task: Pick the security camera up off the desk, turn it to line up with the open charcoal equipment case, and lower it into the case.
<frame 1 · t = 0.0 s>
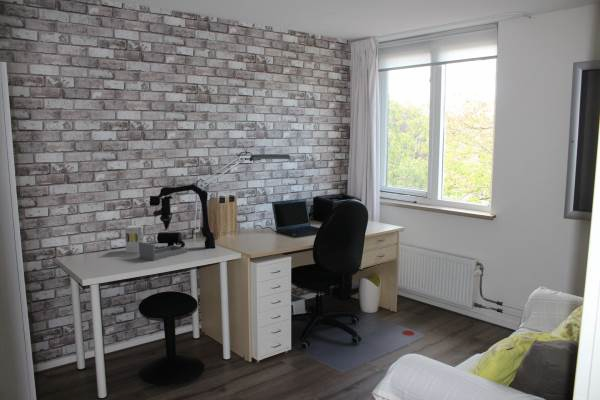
hand: (167, 228, 333), 15 cm above the table, tool pointing down, fingers open, 9 cm apart
case: (164, 254, 320), on the table
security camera: (171, 247, 343), on the table
supplement box: (135, 251, 332), on the table
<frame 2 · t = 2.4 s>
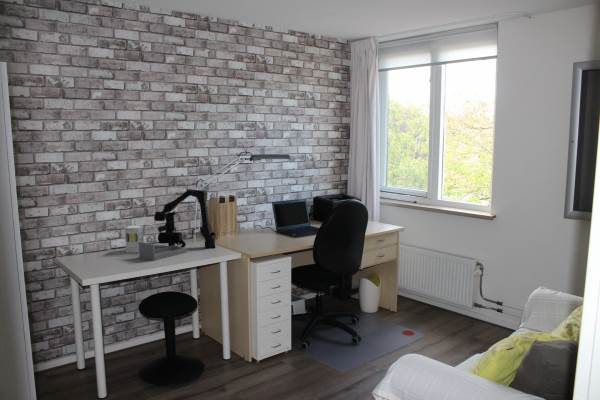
hand: (171, 243, 343), 3 cm above the table, tool pointing down, fingers closed on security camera, 7 cm apart
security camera: (172, 247, 343), on the table, touching gripper
everything else where it was.
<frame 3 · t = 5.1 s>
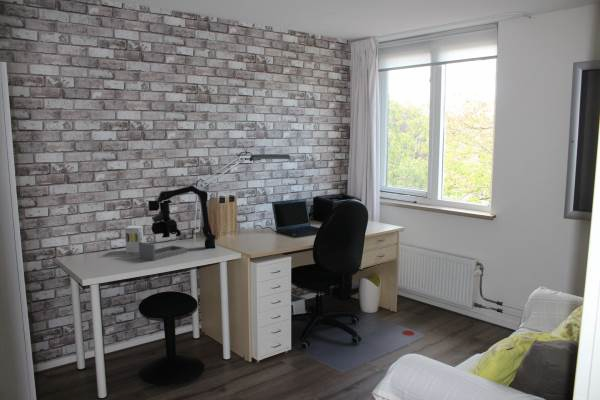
hand: (165, 233, 327), 13 cm above the table, tool pointing down, fingers closed on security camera, 7 cm apart
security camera: (166, 237, 327), point 10 cm above the table, touching gripper
everything else where it was.
when the fingers open (4 cm above the table, at t = 8.3 s): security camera drops 1 cm, resting on case.
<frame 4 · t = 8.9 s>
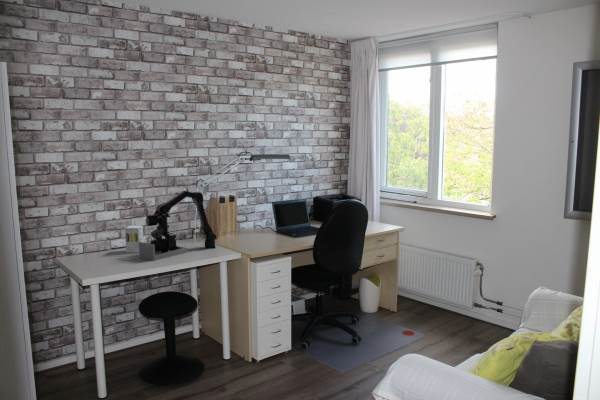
hand: (164, 248, 320), 4 cm above the table, tool pointing down, fingers open, 9 cm apart
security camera: (165, 254, 321), resting on case
everything else where it was.
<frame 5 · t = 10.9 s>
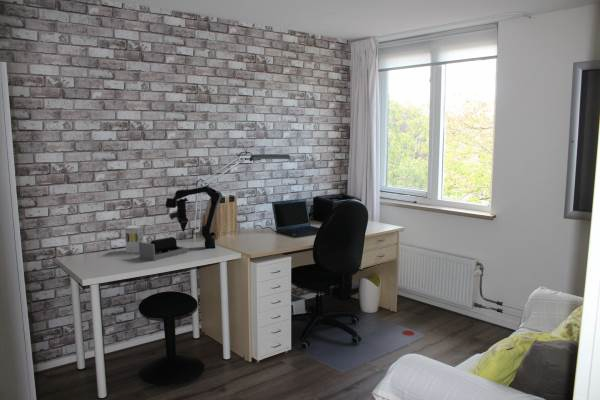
hand: (182, 230, 340), 12 cm above the table, tool pointing down, fingers open, 9 cm apart
nothing on the table moved.
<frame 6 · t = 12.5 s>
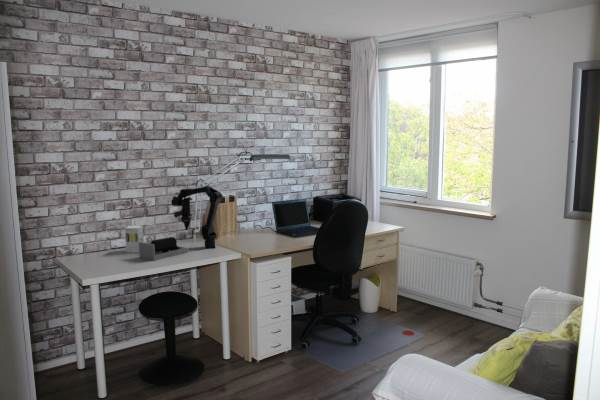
hand: (187, 228, 345), 12 cm above the table, tool pointing down, fingers open, 9 cm apart
nothing on the table moved.
at the end: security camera 1.0 cm off-centre on the case, point 0.2 cm above the case's base; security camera tilted 0°; the gripper is holding nothing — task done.
